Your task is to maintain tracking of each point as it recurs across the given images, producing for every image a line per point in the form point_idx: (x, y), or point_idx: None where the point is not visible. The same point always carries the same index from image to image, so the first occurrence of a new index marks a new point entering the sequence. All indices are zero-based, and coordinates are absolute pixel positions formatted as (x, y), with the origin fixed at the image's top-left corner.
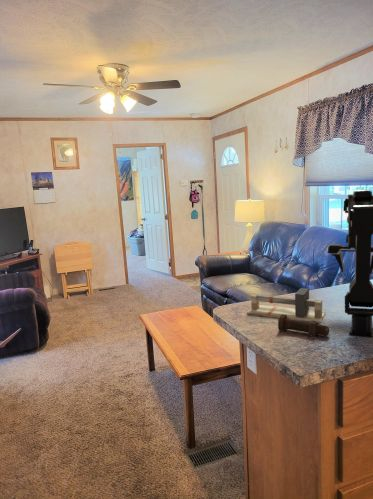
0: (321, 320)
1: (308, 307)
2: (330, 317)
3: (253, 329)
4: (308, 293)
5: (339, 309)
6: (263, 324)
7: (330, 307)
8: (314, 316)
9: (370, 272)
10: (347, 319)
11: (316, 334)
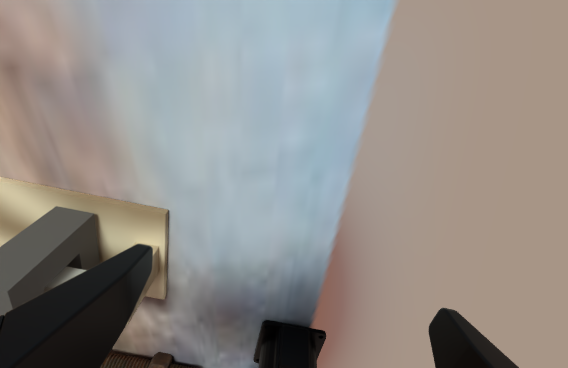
0: (166, 278)
1: (85, 234)
2: (193, 246)
3: None
4: (31, 283)
5: (222, 149)
6: None
7: (177, 122)
8: None
9: (437, 349)
10: (254, 259)
11: (171, 360)
